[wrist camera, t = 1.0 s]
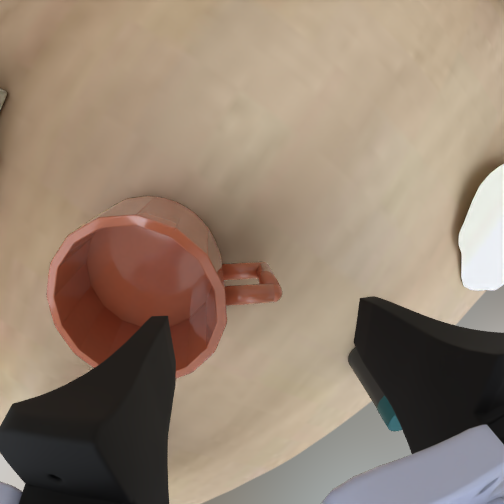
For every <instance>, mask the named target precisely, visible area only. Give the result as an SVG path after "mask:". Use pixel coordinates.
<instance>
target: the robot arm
mask: <svg viewBox="0 0 504 504" xmlns="http://www.w3.org/2000/svg"><path fill="white" fill-rule="evenodd" d="M354 344H355V346H356V349H357V351H358V353H359V355H360V357H361V359H362V362H363V363H364V365H365V366H366V368H367V369H368V371H369V372H370V374H371V376H372V377H373V379H374V380H375V382H376V383H377V385H378V386H379V388H380V389H381V391H382V392H383V394H384V395H385V397H386V398H387V400H388V401H389V403H390V405H391V406H392V408H393V410H394V412H395V414H396V417H397V419H398V421H399V423H400V425H401V427H402V430H403V432H404V434H405V437H406V439H407V442H408V444H409V447H410V450H411V453H412V454H411V455H409V456H406V457H403V458H401V459H398V460H395V461H392V462H389V463H386V464H383V465H380V466H378V467H375V468H373V469H371V470H368V471H366V472H364V473H361V474H359V475H356V476H354V477H352V478H350V479H349V480H347V481H346V482H344V483H343V484H341V485H339V486H338V487H336V488H335V489H333V490H332V491H331V492H330V493H329V495H328V496H327V497H326V498H325V499H324V500H323V501H322V503H321V504H504V333H497V332H486V331H480V330H473V329H468V328H463V327H459V326H455V325H451V324H448V323H444V322H441V321H438V320H435V319H432V318H429V317H427V316H424V315H421V314H419V313H416V312H414V311H411V310H409V309H406V308H404V307H402V306H399V305H397V304H394V303H392V302H389V301H387V300H384V299H381V298H378V297H374V296H373V297H366V298H360V302H359V310H358V317H357V324H356V331H355V338H354ZM175 380H176V359H175V354H174V348H173V343H172V337H171V331H170V325H169V319H168V316H151V317H150V318H149V319H148V320H147V321H146V322H145V323H144V324H143V325H142V326H141V327H140V328H139V330H138V331H137V332H136V333H135V334H134V335H133V336H132V337H131V338H130V339H129V340H128V341H127V342H126V343H124V344H123V345H122V346H121V347H120V348H119V349H118V350H117V351H115V352H114V353H113V354H112V355H111V356H110V357H109V358H107V359H106V360H105V361H103V362H102V363H101V364H99V365H98V366H97V367H95V368H94V369H92V370H91V371H89V372H88V373H86V374H84V375H83V376H81V377H79V378H77V379H75V380H74V381H72V382H70V383H68V384H66V385H64V386H62V387H60V388H58V389H56V390H53V391H51V392H48V393H46V394H43V395H41V396H38V397H35V398H31V399H28V400H25V401H21V402H18V403H14V404H12V406H11V408H10V409H9V411H8V413H7V415H6V417H5V419H4V420H3V422H2V424H1V426H0V452H1V454H2V455H3V457H4V458H5V460H6V461H7V462H8V463H9V464H10V466H11V467H12V468H13V470H14V471H15V472H16V473H17V474H18V475H19V477H20V478H21V479H22V480H23V481H24V482H25V483H26V484H25V487H24V490H23V492H22V491H21V490H19V489H17V488H16V487H13V486H12V485H9V484H6V483H3V482H0V504H169V493H168V466H167V444H168V430H169V423H170V416H171V410H172V403H173V397H174V390H175Z"/></svg>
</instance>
